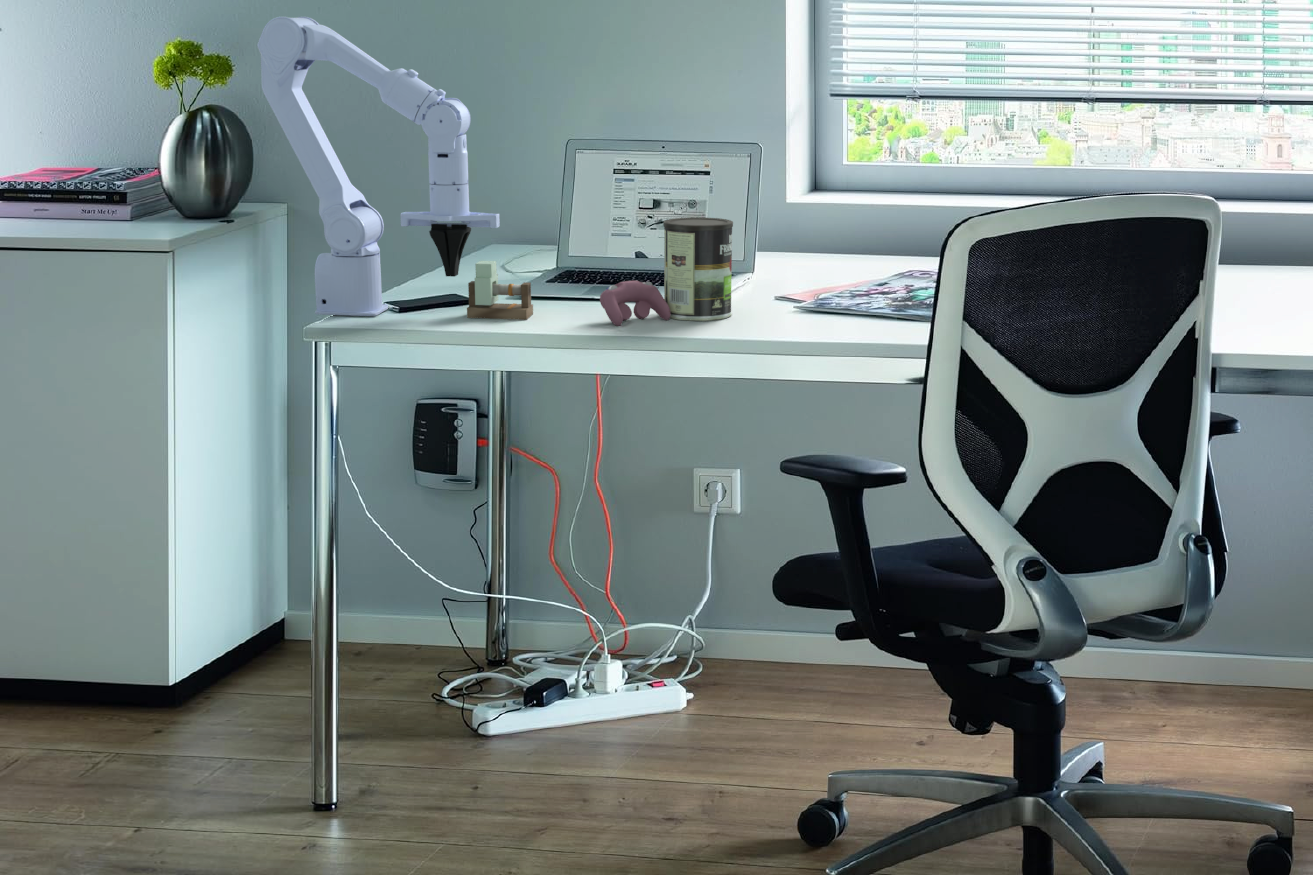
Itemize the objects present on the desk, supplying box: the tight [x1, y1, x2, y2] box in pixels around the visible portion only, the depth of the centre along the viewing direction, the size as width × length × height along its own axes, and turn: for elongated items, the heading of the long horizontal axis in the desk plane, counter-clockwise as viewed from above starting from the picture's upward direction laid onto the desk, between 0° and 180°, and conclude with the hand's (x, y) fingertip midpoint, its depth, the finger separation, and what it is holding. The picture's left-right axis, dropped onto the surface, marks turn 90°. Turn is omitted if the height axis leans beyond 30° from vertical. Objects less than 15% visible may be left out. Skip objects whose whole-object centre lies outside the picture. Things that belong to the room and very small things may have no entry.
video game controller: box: [599, 280, 671, 327], centre depth 228 cm, size 10×5×7 cm, turn 123°
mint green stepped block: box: [474, 260, 499, 305], centre depth 231 cm, size 2×4×6 cm, turn 172°
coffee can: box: [662, 216, 734, 322], centre depth 231 cm, size 10×10×14 cm
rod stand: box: [466, 280, 534, 321], centre depth 231 cm, size 9×4×5 cm, turn 82°
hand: (452, 275), depth 231 cm, fingers closed
